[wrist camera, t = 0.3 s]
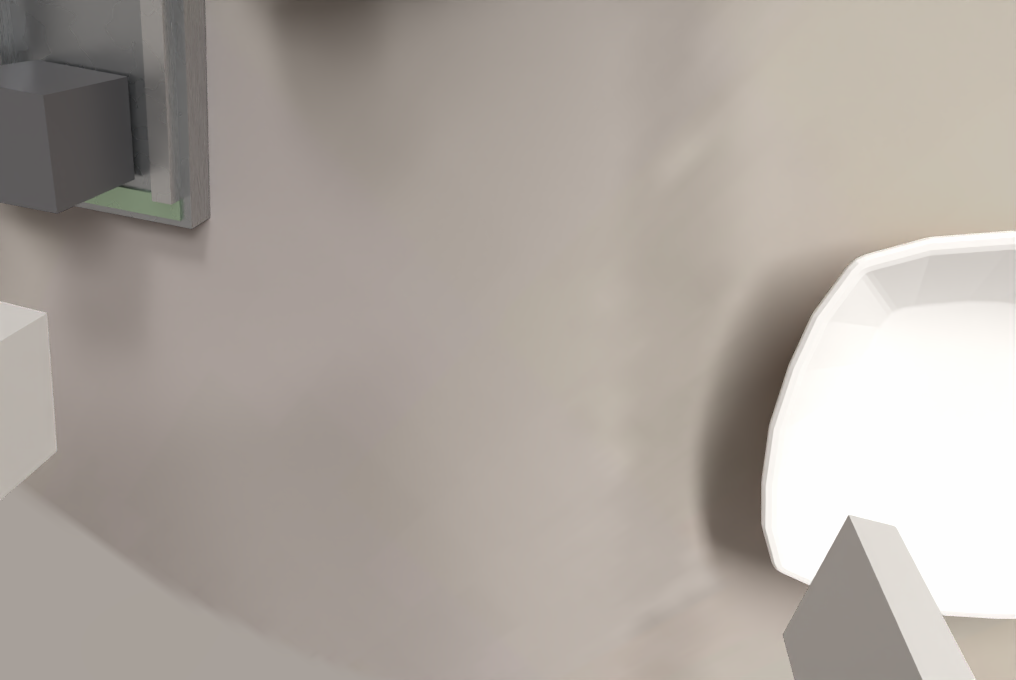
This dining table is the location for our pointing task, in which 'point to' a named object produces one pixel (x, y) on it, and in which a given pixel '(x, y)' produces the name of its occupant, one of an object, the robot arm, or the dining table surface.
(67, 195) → the breaker
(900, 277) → the bowl
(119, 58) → the panel
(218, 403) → the dining table surface
